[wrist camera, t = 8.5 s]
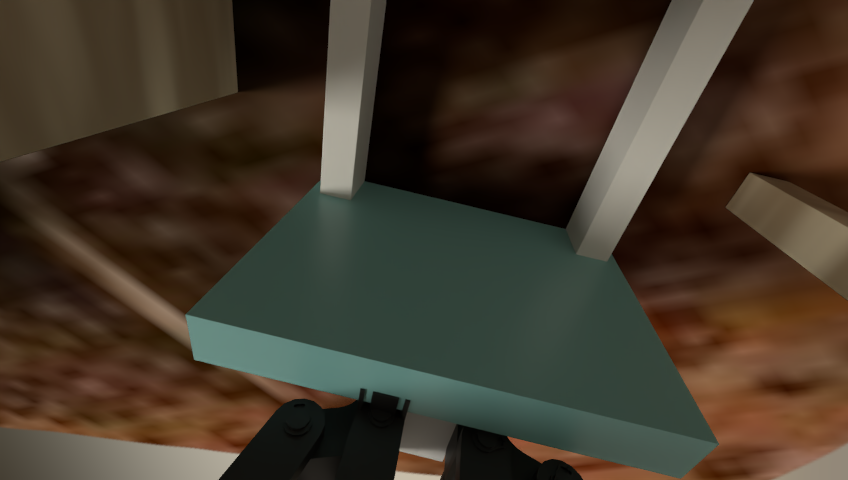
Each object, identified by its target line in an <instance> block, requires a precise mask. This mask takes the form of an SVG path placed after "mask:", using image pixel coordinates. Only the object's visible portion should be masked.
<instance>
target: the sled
mask: <svg viewBox="0 0 848 480" xmlns="http://www.w3.org/2000/svg"><path fill="white" fill-rule="evenodd" d="M753 1H754V0H672V1H671V3H670V5H669V7H668V9H667V11H666V14H665V16H664V18H663V20H662V22H661V24H660V27H659V29H658V31H657V33H656V35H655V37H654V39H653V42H652V44H651V46H650V48H649V50H648V52H647V55H646V57H645V59H644V61H643V63H642V65H641V68H640V70H639V72H638V74H637V76H636V78H635V80H634V83H633V85H632V87H631V89H630V91H629V93H628V96H627V98H626V100H625V102H624V104H623V106H622V109H621V111H620V113H619V115H618V117H617V119H616V122H615V124H614V126H613V128H612V130H611V132H610V134H609V137H608V139H607V141H606V143H605V145H604V147H603V150H602V152H601V154H600V156H599V158H598V160H597V163H596V165H595V167H594V169H593V171H592V173H591V175H590V178H589V180H588V182H587V184H586V186H585V188H584V191H583V193H582V195H581V197H580V199H579V201H578V204H577V206H576V208H575V210H574V212H573V214H572V217H571V219H570V221H569V223H568V225H567V227H566V229H563V228H559V227H555V226H551V225H547V224H542V223H538V222H534V221H530V220H526V219H522V218H517V217H513V216H509V215H505V214H501V213H496V212H492V211H488V210H484V209H480V208H475V207H471V206H467V205H463V204H459V203H454V202H450V201H446V200H442V199H438V198H433V197H429V196H425V195H421V194H417V193H412V192H408V191H404V190H400V189H396V188H391V187H387V186H383V185H379V184H375V183H370V182H366V181H365V174H366V165H367V157H368V149H369V141H370V132H371V124H372V116H373V108H374V99H375V91H376V83H377V75H378V66H379V58H380V50H381V42H382V33H383V25H384V17H385V9H386V0H331V1H330V20H329V38H328V57H327V75H326V94H325V112H324V130H323V149H322V167H321V180H320V181H319V182H318V183H317V184H316V185H315V186H314V187H313V188H312V189H311V190H310V191H309V192H308V193H307V194H306V195H305V196H304V197H303V198H302V199H301V200H300V201H299V202H298V203H297V204H296V205H295V206H294V207H293V208H292V209H291V210H290V211H289V212H288V213H287V214H286V215H285V216H284V217H283V218H282V219H281V220H280V221H279V222H278V223H277V224H276V225H275V226H274V227H273V228H272V229H271V230H270V231H269V232H268V233H267V234H266V235H265V236H264V237H263V238H262V239H261V240H260V241H259V242H258V243H257V244H256V245H255V246H254V247H253V248H252V249H251V250H250V251H249V252H248V253H247V254H246V255H245V256H244V257H243V258H242V259H241V260H240V261H239V262H238V263H237V264H236V265H235V266H234V267H233V268H232V269H231V270H230V271H229V272H228V273H227V274H226V275H225V276H224V277H223V278H222V279H221V280H220V281H219V282H218V283H217V284H216V285H215V286H214V287H213V288H212V289H211V290H210V291H209V292H208V293H207V294H206V295H205V296H204V297H203V298H202V299H201V300H200V301H199V302H198V303H197V304H196V305H195V306H194V307H193V308H192V309H191V310H190V311H189V312H188V313H187V314H186V319H187V324H188V330H189V335H190V340H191V345H192V351H193V356H194V360H198V361H202V362H206V363H210V364H214V365H218V366H222V367H226V368H230V369H234V370H239V371H243V372H247V373H251V374H255V375H259V376H263V377H267V378H271V379H275V380H279V381H284V382H288V383H292V384H296V385H300V386H304V387H308V388H312V389H316V390H320V391H324V392H329V393H333V394H337V395H341V396H345V397H349V398H353V399H357V400H358V399H359V394H360V389H361V388H363V389H366V390H365V395H364V401H365V402H369V403H371V399H372V394H373V391H375V392H379V393H383V394H387V395H391V396H395V397H399V401H398V405H397V409H398V410H403V406H404V403H405V399H407V400H410V404H409V408H408V411H407V412H410V413H414V414H419V415H423V416H427V417H431V418H435V419H439V420H443V421H447V422H451V423H455V424H459V425H464V426H468V427H472V428H476V429H480V430H484V431H488V432H492V433H496V434H500V435H504V436H509V437H513V438H517V439H521V440H525V441H529V442H533V443H537V444H541V445H545V446H549V447H554V448H558V449H562V450H566V451H570V452H574V453H578V454H582V455H586V456H590V457H595V458H599V459H603V460H607V461H611V462H615V463H619V464H623V465H627V466H631V467H635V468H640V469H644V470H648V471H652V472H656V473H660V474H664V475H668V476H672V477H676V478H680V479H681V478H682V477H683V476H684V475H685V474H687V473H688V472H689V471H690V470H691V469H692V468H693V467H694V466H695V465H697V464H698V463H699V462H700V461H701V460H702V459H703V458H704V457H705V456H707V455H708V454H709V453H710V452H711V451H712V450H713V449H714V448H715V447H717V446H718V445H719V443H718V441H717V440H716V438H715V436H714V434H713V433H712V431H711V429H710V427H709V425H708V424H707V422H706V420H705V418H704V417H703V415H702V413H701V411H700V410H699V408H698V406H697V404H696V402H695V401H694V399H693V397H692V395H691V394H690V392H689V390H688V388H687V387H686V385H685V383H684V381H683V379H682V378H681V376H680V374H679V372H678V371H677V369H676V367H675V365H674V364H673V362H672V360H671V358H670V356H669V355H668V353H667V351H666V349H665V348H664V346H663V344H662V342H661V340H660V339H659V337H658V335H657V333H656V332H655V330H654V328H653V326H652V325H651V323H650V321H649V319H648V317H647V316H646V314H645V312H644V310H643V309H642V307H641V305H640V303H639V302H638V300H637V298H636V296H635V294H634V293H633V291H632V289H631V287H630V286H629V284H628V282H627V280H626V279H625V277H624V275H623V273H622V271H621V270H620V268H619V266H618V264H617V263H616V261H615V259H614V257H613V255H612V252H613V250H614V248H615V247H616V245H617V243H618V241H619V240H620V238H621V236H622V234H623V232H624V231H625V229H626V227H627V225H628V224H629V222H630V220H631V218H632V216H633V215H634V213H635V211H636V209H637V207H638V206H639V204H640V202H641V200H642V199H643V197H644V195H645V193H646V191H647V190H648V188H649V186H650V184H651V183H652V181H653V179H654V177H655V175H656V174H657V172H658V170H659V168H660V167H661V165H662V163H663V161H664V159H665V158H666V156H667V154H668V152H669V151H670V149H671V147H672V145H673V143H674V142H675V140H676V138H677V136H678V134H679V133H680V131H681V129H682V127H683V126H684V124H685V122H686V120H687V118H688V117H689V115H690V113H691V111H692V110H693V108H694V106H695V104H696V102H697V101H698V99H699V97H700V95H701V94H702V92H703V90H704V88H705V86H706V85H707V83H708V81H709V79H710V78H711V76H712V74H713V72H714V70H715V69H716V67H717V65H718V63H719V61H720V60H721V58H722V56H723V54H724V53H725V51H726V49H727V47H728V45H729V44H730V42H731V40H732V38H733V37H734V35H735V33H736V31H737V29H738V28H739V26H740V24H741V22H742V21H743V19H744V17H745V15H746V13H747V12H748V10H749V8H750V6H751V5H752V3H753Z"/></svg>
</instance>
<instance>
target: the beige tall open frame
mask: <svg viewBox="0 0 848 480" xmlns="http://www.w3.org/2000/svg"><path fill="white" fill-rule="evenodd" d="M237 92H238V85H237V69H236V53H235V38H234V22H233V6H232V0H0V162H1V161H5V160H8V159H12V158H15V157H18V156H22V155H25V154H29V153H32V152H36V151H39V150H42V149H46V148H49V147H53V146H56V145H59V144H63V143H66V142H70V141H73V140H76V139H80V138H83V137H87V136H90V135H94V134H97V133H100V132H104V131H107V130H111V129H114V128H117V127H121V126H124V125H128V124H131V123H134V122H138V121H141V120H145V119H148V118H152V117H155V116H158V115H162V114H165V113H169V112H172V111H175V110H179V109H182V108H186V107H189V106H192V105H196V104H199V103H203V102H206V101H210V100H213V99H216V98H220V97H223V96H227V95H230V94H233V93H237ZM725 208H727V209H728V210H729V211H731V212H732V213H733V214H734V215H736V216H737V217H738V218H740V219H741V220H742V221H744V222H745V223H746V224H748V225H749V226H750V227H752V228H753V229H754V230H756V231H757V232H758V233H759V234H761V235H762V236H763V237H765V238H766V239H767V240H769V241H770V242H771V243H773V244H774V245H775V246H777V247H778V248H779V249H781V250H782V251H783V252H784V253H786V254H787V255H788V256H790V257H791V258H792V259H794V260H795V261H796V262H798V263H799V264H800V265H802V266H803V267H804V268H806V269H807V270H808V271H809V272H811V273H812V274H813V275H815V276H816V277H817V278H819V279H820V280H821V281H823V282H824V283H825V284H827V285H828V286H829V287H831V288H832V289H833V290H834V291H836V292H837V293H838V294H840V295H841V296H842V297H844V298H845V299H846V300H848V212H846V211H844V210H842V209H840V208H839V207H837V206H835V205H833V204H831V203H829V202H827V201H825V200H823V199H821V198H819V197H817V196H815V195H814V194H812V193H810V192H808V191H806V190H804V189H802V188H800V187H798V186H796V185H794V184H792V183H790V182H788V181H784V180H779V179H775V178H771V177H767V176H762V175H758V174H754V173H749V175H748V176H747V177H746V179H745V180H744V182H743V183H742V185H741V186H740V187H739V189H738V190H737V192H736V193H735V195H734V196H733V197H732V199H731V200H730V202H729V203H728V205H727V206H726V207H725Z"/></svg>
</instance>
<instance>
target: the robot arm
mask: <svg viewBox="0 0 848 480" xmlns="http://www.w3.org/2000/svg"><path fill="white" fill-rule="evenodd" d="M365 390H366V389H363V388H361V389H360V394H359V399H358V400H356V401H355V402H353V403H352V404H350V405H347V406H345V407H340V408H330V409H322V408H321V407H320V406H319V405H318V404H317V403H315V402H314V401H311V400H308V399H294V400H292V401H289V402H287V403H285V404H283V405H282V406H281V407H280V408H279V409H278V410H276V412H275V413H274V414H273V415H272V416H271V418H270V419H269V420H268V421H267V422H266V424H265V425H264V426H263V427H262V428H261V430H260V431H259V432H258V433H257V434H256V436H255V437H254V438H253V439H252V440H251V442H250V443H249V444H248V445H247V446H246V448H245V449H244V450H243V451H242V452H241V453H240V455H239V456H238V457H237V458H236V459H235V461H234V462H233V463H232V464H231V465H230V467H229V468H228V469H227V470H226V471H225V473H224V474H223V475H222V476H221V477H220V479H219V480H394V476H395V471H396V465H397V460H398V455H399V451H401V452H405V453H409V454H413V455H417V456H421V457H425V458H429V459H434V460H438V461H443V459H444V456H445V454H446V456H445V469H444V472H443V474H442V476H441V479H440V480H583V479H582V477H581V476H580V475H579V474H578V473H577V471H576V470H575V469H574V468H573V467H572V466H570V465H568V464H566V463H565V462H563V461H560V460H555V459H551V460H547V461H544V462H543V463H542V464H541V463H540V462H538V461H536V460H535V459H533V458H531V457H530V456H528V455H526V454H525V453H523V452H522V451H520V450H519V449H517V448H516V447H515V446H514V445H513V444H512V443H511V442H510V440H509V439H508V437H507V436H504V435H500V434H496V433H492V432H488V431H484V430H480V429H476V428H472V427H468V426H464V425H459V424H455V423H451V422H447V421H443V420H439V419H435V418H431V417H427V416H423V415H419V414H414V413H410V412H407V411H408V408H409V404H410V400H407V399H405V403H404V406H403V410H398V409H397V405H398V401H399V397H395V396H391V395H387V394H383V393H379V392H375V391H373V394H372V399H371V403H369V402H365V401H364V395H365Z"/></svg>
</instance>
